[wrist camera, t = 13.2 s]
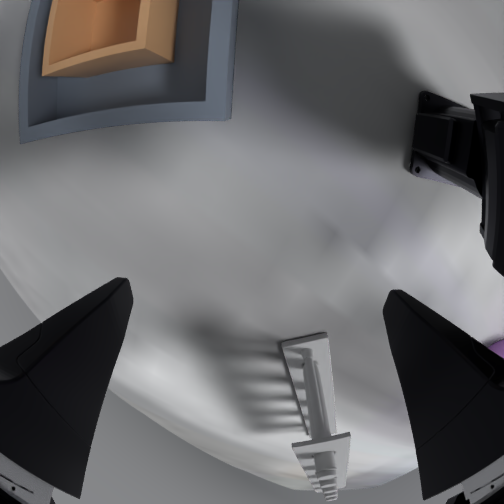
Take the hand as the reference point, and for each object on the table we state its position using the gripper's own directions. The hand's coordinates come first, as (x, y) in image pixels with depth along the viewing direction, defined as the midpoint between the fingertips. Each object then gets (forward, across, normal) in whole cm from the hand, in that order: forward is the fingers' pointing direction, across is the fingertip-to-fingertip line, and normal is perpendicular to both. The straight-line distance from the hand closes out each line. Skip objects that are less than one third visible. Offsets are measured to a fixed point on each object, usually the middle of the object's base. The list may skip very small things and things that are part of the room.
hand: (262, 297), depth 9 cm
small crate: (+10, +9, -12) cm, 18 cm away
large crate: (+11, +9, -12) cm, 19 cm away
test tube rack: (+11, -9, +25) cm, 29 cm away
